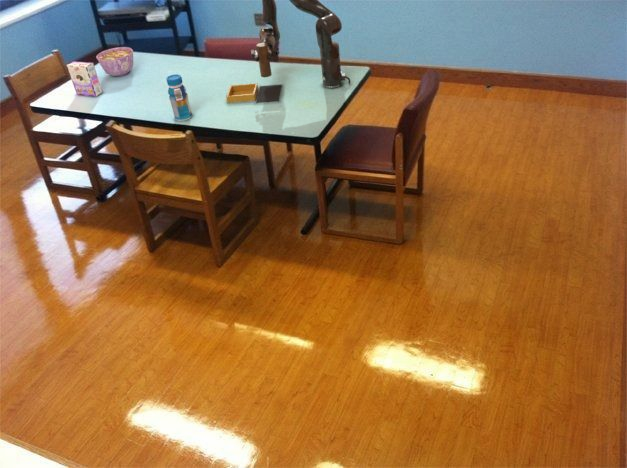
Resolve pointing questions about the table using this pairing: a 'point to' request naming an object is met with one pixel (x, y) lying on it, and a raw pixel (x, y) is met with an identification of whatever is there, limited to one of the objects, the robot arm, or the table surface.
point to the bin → (242, 92)
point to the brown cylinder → (263, 59)
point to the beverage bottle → (178, 98)
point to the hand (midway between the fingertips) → (263, 59)
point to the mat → (269, 93)
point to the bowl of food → (116, 60)
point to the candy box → (84, 78)
